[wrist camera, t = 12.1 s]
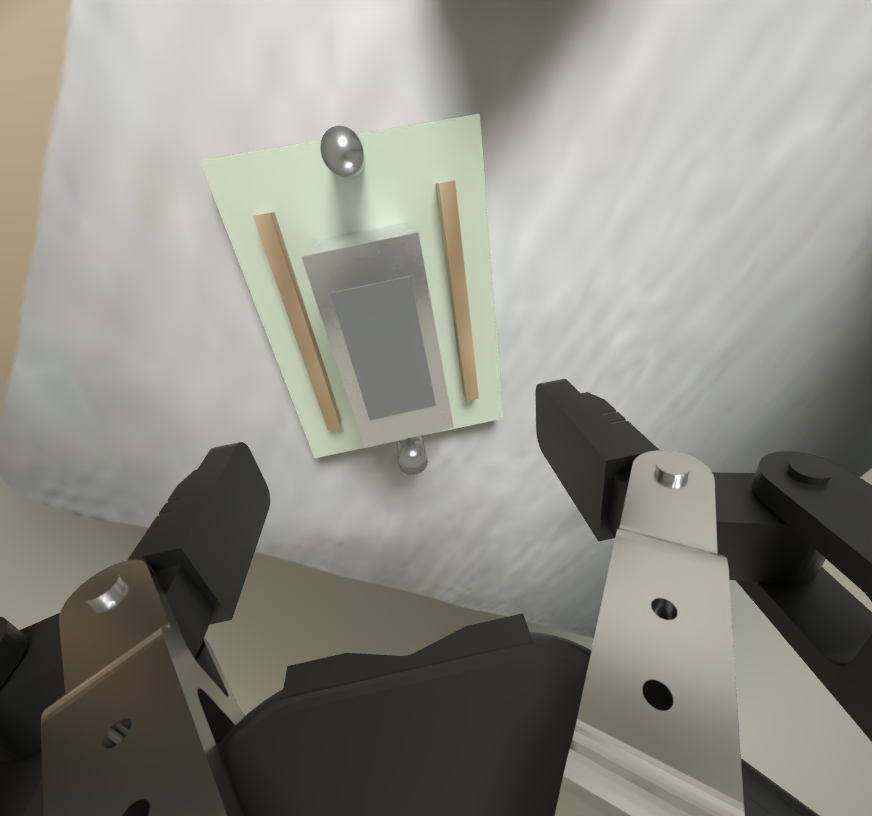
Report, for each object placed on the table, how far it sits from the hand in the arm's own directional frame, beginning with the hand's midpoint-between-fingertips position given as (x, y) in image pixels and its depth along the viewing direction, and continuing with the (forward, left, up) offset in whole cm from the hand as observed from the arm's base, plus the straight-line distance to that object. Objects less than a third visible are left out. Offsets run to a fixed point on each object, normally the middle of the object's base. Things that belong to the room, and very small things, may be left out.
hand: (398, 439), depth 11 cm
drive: (0, 0, -13) cm, 13 cm away
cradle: (0, 0, -14) cm, 14 cm away
